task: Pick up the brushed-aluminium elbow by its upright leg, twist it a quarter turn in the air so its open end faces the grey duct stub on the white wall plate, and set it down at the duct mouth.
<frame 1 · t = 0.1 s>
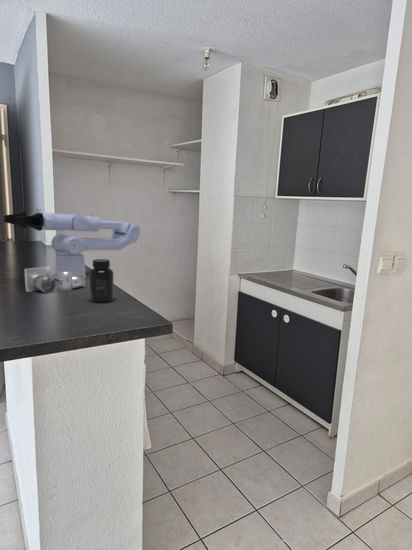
hand: (10, 219, 116), 22 cm above the countertop, tool horizontal, fingers open, 7 cm apart
supplement bottle: (101, 300, 112), on the countertop
elbow: (65, 289, 121), on the countertop
duct stub: (39, 289, 119), on the countertop
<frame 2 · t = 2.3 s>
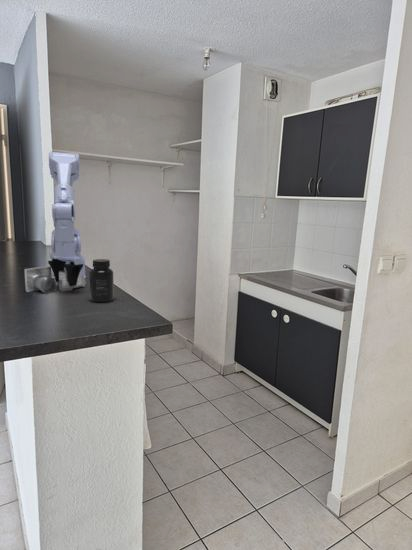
hand: (66, 283, 120), 2 cm above the countertop, tool pointing down, fingers open, 7 cm apart
nothing on the countertop moved.
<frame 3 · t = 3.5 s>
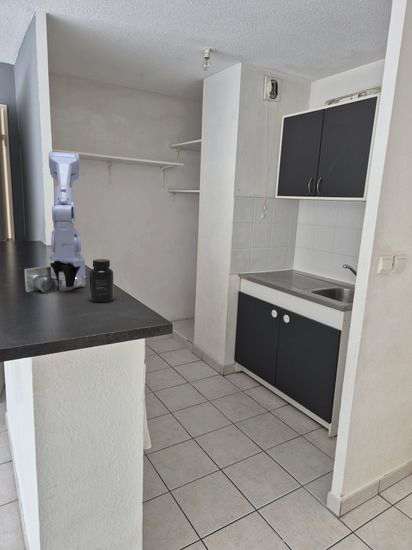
hand: (65, 285, 121), 1 cm above the countertop, tool pointing down, fingers closed on elbow, 4 cm apart
elbow: (65, 289, 121), on the countertop, touching gripper
everything else where it was.
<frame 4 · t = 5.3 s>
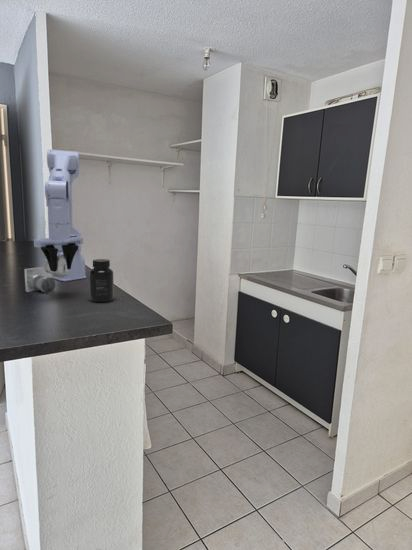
hand: (60, 269, 110), 8 cm above the countertop, tool pointing down, fingers closed on elbow, 4 cm apart
elbow: (61, 275, 111), point 7 cm above the countertop, touching gripper
everything else where it was.
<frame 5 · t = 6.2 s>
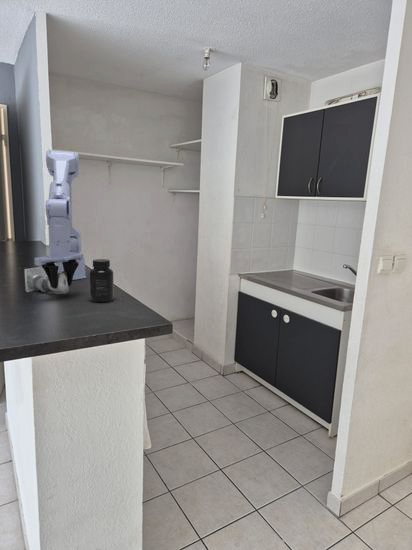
hand: (61, 286, 111), 3 cm above the countertop, tool pointing down, fingers closed on elbow, 4 cm apart
elbow: (61, 292, 112), point 2 cm above the countertop, touching gripper
everything else where it was.
when the fingers open (3 cm above the countertop, at t = 7.1 s): elbow drops 1 cm, on the countertop.
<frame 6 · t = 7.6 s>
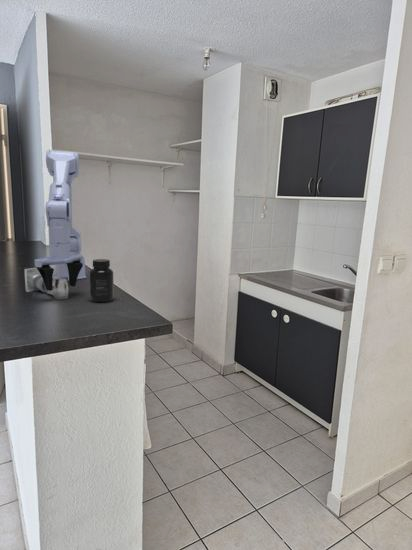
hand: (61, 287, 111), 3 cm above the countertop, tool pointing down, fingers open, 7 cm apart
elbow: (61, 297, 112), on the countertop
everything else where it was.
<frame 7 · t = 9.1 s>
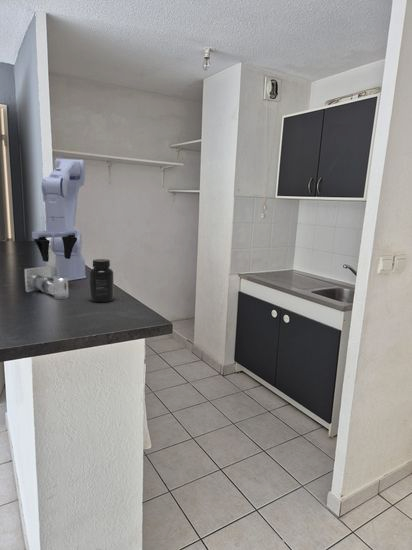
hand: (56, 259, 120), 9 cm above the countertop, tool pointing down, fingers open, 7 cm apart
nothing on the countertop moved.
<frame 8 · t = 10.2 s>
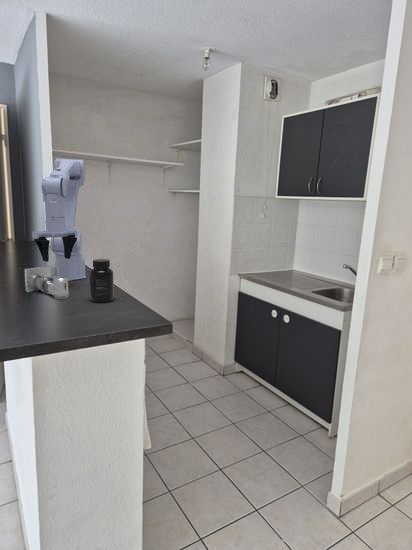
hand: (56, 259, 120), 9 cm above the countertop, tool pointing down, fingers open, 7 cm apart
nothing on the countertop moved.
at the end: elbow 0.6 cm from the target spot on the countertop beside the duct stub, on the countertop; elbow tilted 0°; the gripper is holding nothing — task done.
